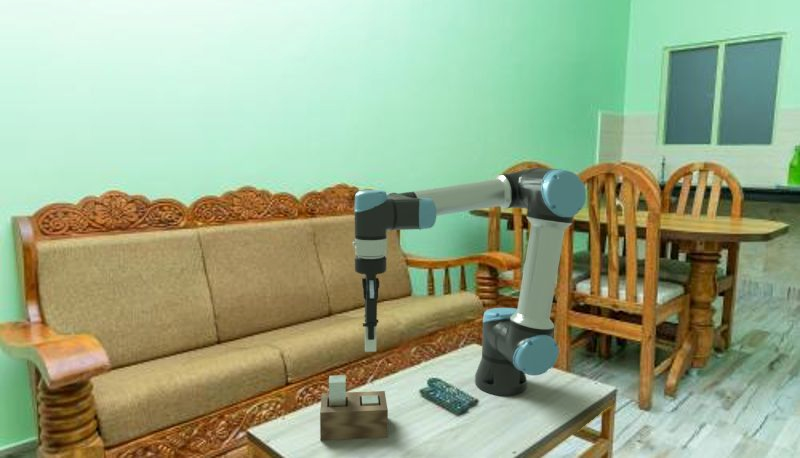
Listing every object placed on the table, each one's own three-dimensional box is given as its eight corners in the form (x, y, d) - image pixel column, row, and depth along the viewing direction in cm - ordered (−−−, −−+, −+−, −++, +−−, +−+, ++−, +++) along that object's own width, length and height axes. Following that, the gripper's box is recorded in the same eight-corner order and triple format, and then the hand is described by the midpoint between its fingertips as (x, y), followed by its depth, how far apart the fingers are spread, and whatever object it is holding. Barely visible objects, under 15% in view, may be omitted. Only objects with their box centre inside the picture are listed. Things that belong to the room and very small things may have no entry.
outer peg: (345, 398, 130) (345, 375, 129) (345, 406, 126) (345, 382, 125) (329, 399, 129) (329, 375, 129) (329, 407, 126) (328, 382, 125)
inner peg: (377, 418, 132) (377, 395, 131) (378, 426, 128) (378, 402, 127) (361, 418, 131) (361, 395, 130) (362, 427, 127) (362, 403, 126)
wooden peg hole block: (384, 416, 135) (384, 391, 134) (387, 437, 125) (387, 410, 124) (322, 418, 133) (321, 393, 132) (320, 440, 123) (320, 412, 122)
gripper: (354, 250, 129) (354, 341, 133) (355, 261, 116) (355, 361, 120) (384, 250, 130) (384, 340, 133) (388, 261, 117) (388, 360, 121)
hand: (370, 350), depth 127 cm, fingers closed
